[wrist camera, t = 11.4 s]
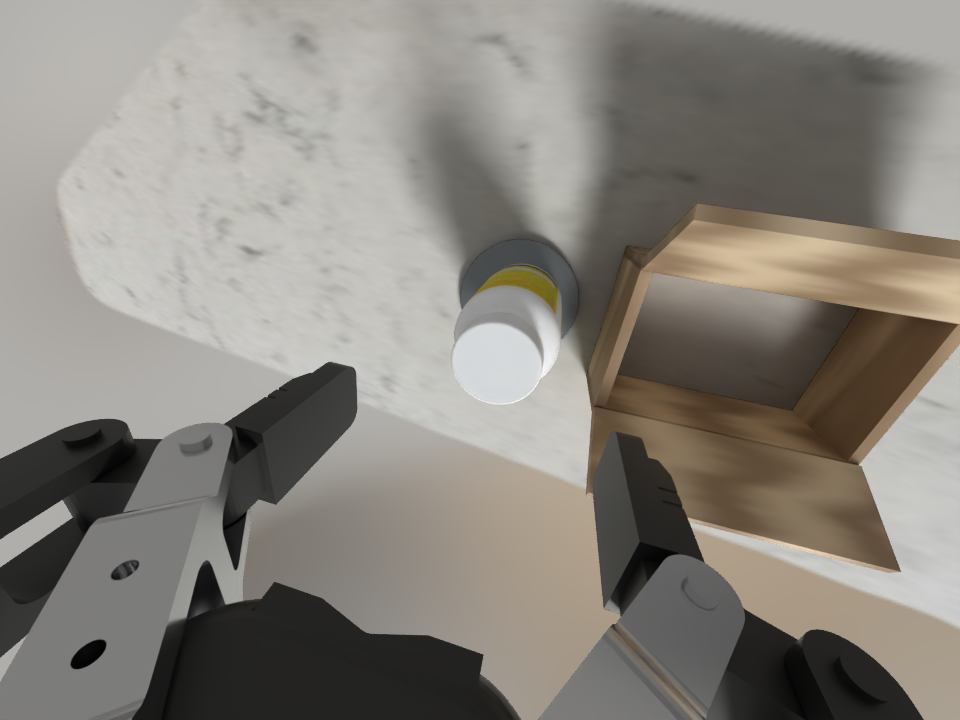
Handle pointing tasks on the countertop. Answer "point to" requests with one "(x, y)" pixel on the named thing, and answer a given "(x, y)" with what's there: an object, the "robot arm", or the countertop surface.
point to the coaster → (525, 254)
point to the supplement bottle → (508, 335)
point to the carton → (825, 403)
